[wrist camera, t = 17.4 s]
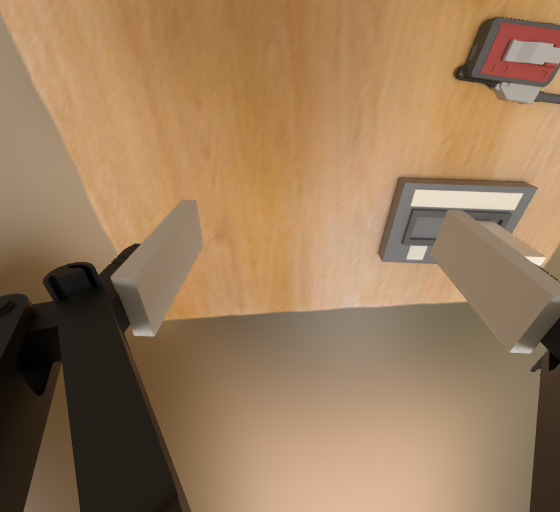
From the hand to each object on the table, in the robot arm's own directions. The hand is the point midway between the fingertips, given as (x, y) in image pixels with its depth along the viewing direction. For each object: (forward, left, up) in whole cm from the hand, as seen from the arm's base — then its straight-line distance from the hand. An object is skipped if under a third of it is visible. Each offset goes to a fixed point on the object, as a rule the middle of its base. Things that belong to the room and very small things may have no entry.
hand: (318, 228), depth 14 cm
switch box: (+15, +29, -35) cm, 48 cm away
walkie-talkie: (-9, +32, -35) cm, 48 cm away
